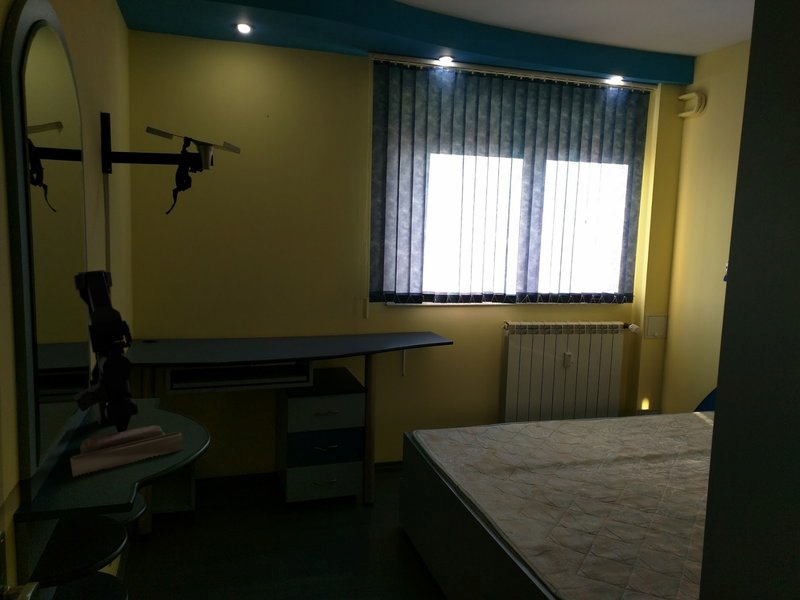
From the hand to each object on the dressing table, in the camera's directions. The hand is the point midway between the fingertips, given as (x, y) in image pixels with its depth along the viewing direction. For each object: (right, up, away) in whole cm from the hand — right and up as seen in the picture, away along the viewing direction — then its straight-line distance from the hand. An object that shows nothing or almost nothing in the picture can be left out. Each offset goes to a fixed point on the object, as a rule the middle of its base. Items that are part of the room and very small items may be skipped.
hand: (121, 436), depth 136 cm
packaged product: (+3, -3, -4) cm, 6 cm away
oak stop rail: (+6, -3, -9) cm, 12 cm away
